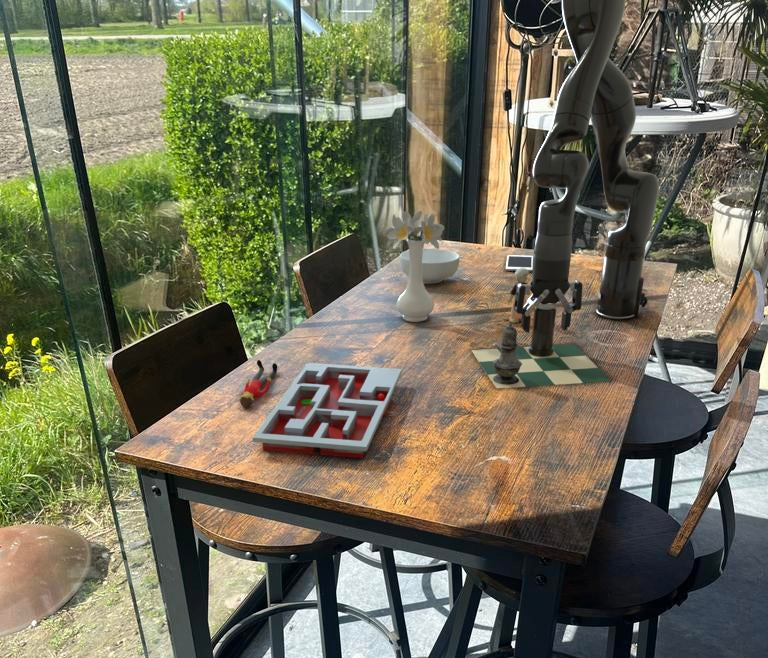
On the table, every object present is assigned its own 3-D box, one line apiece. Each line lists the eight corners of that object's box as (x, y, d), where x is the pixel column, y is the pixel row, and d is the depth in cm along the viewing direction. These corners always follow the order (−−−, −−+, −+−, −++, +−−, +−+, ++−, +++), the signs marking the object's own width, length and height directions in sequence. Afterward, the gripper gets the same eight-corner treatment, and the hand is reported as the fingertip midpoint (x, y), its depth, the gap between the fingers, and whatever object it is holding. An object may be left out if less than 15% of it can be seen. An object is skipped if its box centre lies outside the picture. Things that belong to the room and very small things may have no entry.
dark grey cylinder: (548, 347, 179) (553, 302, 174) (556, 356, 175) (561, 309, 169) (525, 349, 179) (529, 303, 173) (532, 357, 174) (537, 311, 169)
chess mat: (574, 344, 181) (574, 343, 181) (611, 381, 163) (611, 380, 163) (471, 350, 178) (471, 349, 178) (496, 388, 160) (496, 388, 160)
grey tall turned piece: (502, 387, 160) (506, 329, 154) (486, 377, 165) (489, 320, 158) (526, 381, 162) (531, 324, 156) (509, 372, 167) (514, 316, 161)
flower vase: (445, 307, 205) (449, 205, 192) (433, 331, 189) (436, 221, 176) (396, 304, 207) (396, 203, 194) (380, 327, 192) (379, 219, 179)
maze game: (366, 464, 133) (366, 446, 131) (254, 454, 136) (252, 437, 135) (401, 383, 162) (401, 368, 161) (308, 377, 165) (307, 362, 164)
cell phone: (505, 270, 234) (505, 268, 234) (507, 256, 247) (507, 254, 247) (532, 271, 233) (532, 269, 232) (532, 257, 246) (533, 255, 246)
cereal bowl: (460, 288, 219) (461, 262, 215) (399, 288, 219) (400, 262, 216) (456, 272, 234) (457, 247, 230) (399, 272, 234) (399, 247, 230)
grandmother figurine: (517, 325, 193) (522, 272, 186) (503, 322, 195) (507, 269, 188) (532, 317, 198) (537, 265, 191) (519, 314, 200) (523, 263, 193)
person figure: (276, 354, 165) (251, 388, 149) (283, 372, 166) (259, 407, 151) (254, 360, 166) (227, 394, 151) (261, 378, 168) (235, 413, 153)
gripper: (524, 261, 161) (518, 338, 170) (592, 257, 163) (582, 334, 172) (514, 251, 168) (508, 326, 176) (579, 248, 169) (570, 322, 178)
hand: (545, 330), depth 174 cm, fingers open, 8 cm apart
